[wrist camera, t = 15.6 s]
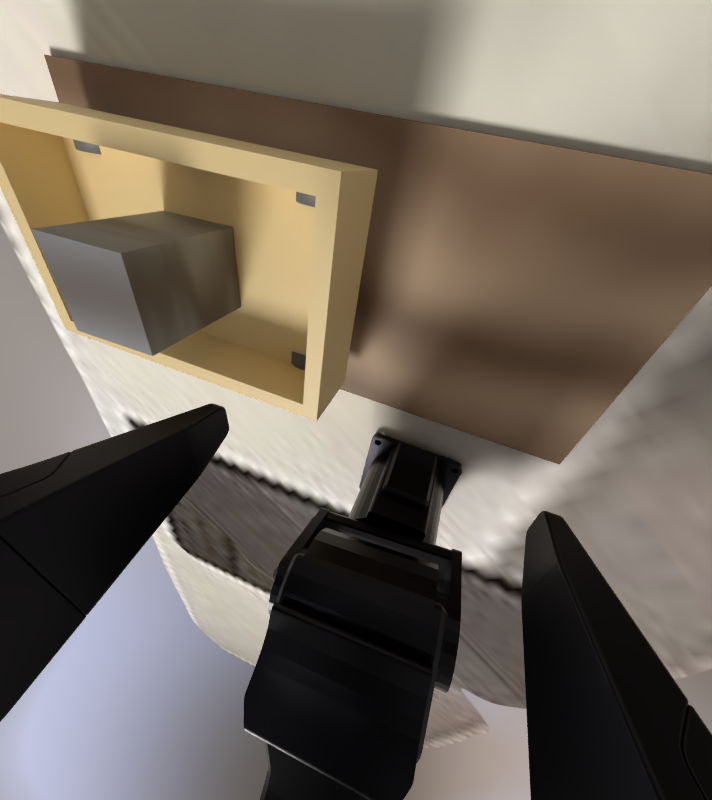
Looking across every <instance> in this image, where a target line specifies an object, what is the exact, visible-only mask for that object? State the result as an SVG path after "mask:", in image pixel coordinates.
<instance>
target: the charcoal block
mask: <svg viewBox="0 0 712 800" xmlns="http://www.w3.org/2000/svg"><path fill="white" fill-rule="evenodd" d="M32 231H33V233H34V235H35V238H36V240H37V242H38V244H39V247H40V249H41V251H42V253H43V255H44V258H45V260H46V262H47V264H48V266H49V269H50V271H51V273H52V275H53V277H54V280H55V282H56V284H57V286H58V288H59V291H60V293H61V295H62V297H63V299H64V302H65V304H66V306H67V308H68V310H69V313H70V315H71V317H72V319H73V322H74V324H75V326H76V328H77V330H78V331H80V332H83V333H86V334H89V335H92V336H95V337H98V338H101V339H104V340H107V341H110V342H113V343H115V344H118V345H121V346H124V347H127V348H130V349H133V350H136V351H139V352H142V353H145V354H148V355H151V356H154V355H156V354H158V353H159V352H161V351H163V350H165V349H167V348H168V347H170V346H172V345H174V344H176V343H177V342H179V341H181V340H183V339H184V338H186V337H188V336H190V335H192V334H193V333H195V332H197V331H199V330H201V329H202V328H204V327H206V326H208V325H210V324H211V323H213V322H215V321H217V320H219V319H220V318H222V317H224V316H226V315H228V314H229V313H231V312H233V311H235V310H237V309H238V308H240V307H241V301H240V291H239V281H238V271H237V261H236V251H235V241H234V231H233V227H232V226H227V225H223V224H219V223H215V222H210V221H206V220H202V219H198V218H193V217H189V216H185V215H181V214H176V213H172V212H168V211H157V212H150V213H143V214H136V215H128V216H121V217H114V218H107V219H100V220H92V221H85V222H78V223H71V224H64V225H56V226H49V227H42V228H35V229H32Z"/></svg>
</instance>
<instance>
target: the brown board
mask: <svg viewBox="0 0 712 800" xmlns="http://www.w3.org/2000/svg"><path fill="white" fill-rule="evenodd" d="M44 56H45V59H46V62H47V65H48V68H49V72H50V75H51V78H52V81H53V84H54V87H55V90H56V94H57V97H58V100H59V103H64V104H69V105H73V106H78V107H83V108H88V109H92V110H97V111H102V112H107V113H111V114H116V115H121V116H125V117H130V118H135V119H140V120H144V121H149V122H154V123H159V124H163V125H168V126H173V127H178V128H182V129H187V130H192V131H197V132H201V133H206V134H211V135H216V136H220V137H225V138H230V139H234V140H239V141H244V142H249V143H253V144H258V145H263V146H268V147H272V148H277V149H282V150H287V151H291V152H296V153H301V154H306V155H310V156H315V157H320V158H324V159H329V160H334V161H339V162H343V163H348V164H353V165H358V166H362V167H367V168H372V169H377V170H378V174H377V180H376V186H375V193H374V199H373V205H372V212H371V218H370V224H369V231H368V237H367V243H366V250H365V256H364V262H363V268H362V275H361V281H360V287H359V294H358V300H357V306H356V313H355V319H354V325H353V332H352V338H351V344H350V351H349V357H348V363H347V370H346V376H345V382H344V383H343V385H342V386H341V387H340V389H342V390H344V391H347V392H350V393H353V394H356V395H359V396H362V397H365V398H368V399H371V400H374V401H376V402H379V403H382V404H385V405H388V406H391V407H394V408H397V409H400V410H403V411H406V412H408V413H411V414H414V415H417V416H420V417H423V418H426V419H429V420H432V421H435V422H438V423H440V424H443V425H446V426H449V427H452V428H455V429H458V430H461V431H464V432H467V433H470V434H472V435H475V436H478V437H481V438H484V439H487V440H490V441H493V442H496V443H499V444H502V445H504V446H507V447H510V448H513V449H516V450H519V451H522V452H525V453H528V454H531V455H534V456H536V457H539V458H542V459H545V460H548V461H551V462H554V463H557V464H560V463H561V462H562V461H563V460H564V458H565V457H566V456H567V455H568V454H569V453H570V451H571V450H572V449H573V448H574V447H575V445H576V444H577V443H578V442H579V441H580V440H581V438H582V437H583V436H584V435H585V434H586V433H587V431H588V430H589V429H590V428H591V427H592V425H593V424H594V423H595V422H596V421H597V420H598V418H599V417H600V416H601V415H602V414H603V413H604V411H605V410H606V409H607V408H608V407H609V405H610V404H611V403H612V402H613V401H614V400H615V398H616V397H617V396H618V395H619V394H620V393H621V391H622V390H623V389H624V388H625V387H626V386H627V384H628V383H629V382H630V381H631V380H632V378H633V377H634V376H635V375H636V374H637V373H638V371H639V370H640V369H641V368H642V367H643V366H644V364H645V363H646V362H647V361H648V360H649V358H650V357H651V356H652V355H653V354H654V353H655V351H656V350H657V349H658V348H659V347H660V346H661V344H662V343H663V342H664V341H665V340H666V338H667V337H668V336H669V335H670V334H671V333H672V331H673V330H674V329H675V328H676V327H677V326H678V324H679V323H680V322H681V321H682V320H683V318H684V317H685V316H686V315H687V314H688V313H689V311H690V310H691V309H692V308H693V307H694V306H695V304H696V303H697V302H698V301H699V300H700V299H701V297H702V296H703V295H704V294H705V293H706V291H707V290H708V289H709V288H710V287H711V286H712V174H706V173H701V172H695V171H690V170H684V169H678V168H673V167H667V166H662V165H656V164H651V163H645V162H639V161H634V160H628V159H623V158H617V157H612V156H606V155H600V154H595V153H589V152H584V151H578V150H573V149H567V148H561V147H556V146H550V145H545V144H539V143H534V142H528V141H523V140H517V139H511V138H506V137H500V136H495V135H489V134H484V133H478V132H472V131H467V130H461V129H456V128H450V127H445V126H439V125H433V124H428V123H422V122H417V121H411V120H406V119H400V118H394V117H389V116H383V115H378V114H372V113H367V112H361V111H355V110H350V109H344V108H339V107H333V106H328V105H322V104H316V103H311V102H305V101H300V100H294V99H289V98H283V97H277V96H272V95H266V94H261V93H255V92H250V91H244V90H238V89H233V88H227V87H222V86H216V85H211V84H205V83H199V82H194V81H188V80H183V79H177V78H172V77H166V76H160V75H155V74H149V73H144V72H138V71H133V70H127V69H121V68H116V67H110V66H105V65H99V64H94V63H88V62H82V61H77V60H71V59H66V58H60V57H55V56H49V55H44Z"/></svg>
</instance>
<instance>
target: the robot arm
mask: <svg viewBox="0 0 712 800" xmlns="http://www.w3.org/2000/svg"><path fill="white" fill-rule="evenodd" d="M228 431H229V424H228V419H227V414H226V410H225V408H224V407H222V406H219V405H216V404H208V405H205V406H202V407H199V408H196V409H193V410H190V411H188V412H185V413H182V414H179V415H176V416H173V417H170V418H167V419H164V420H161V421H158V422H155V423H152V424H150V425H147V426H144V427H141V428H138V429H135V430H132V431H129V432H126V433H123V434H120V435H117V436H114V437H111V438H109V439H106V440H103V441H100V442H97V443H94V444H91V445H88V446H85V447H82V448H79V449H76V450H74V451H72V452H67V453H65V454H62V455H59V456H56V457H53V458H50V459H47V460H44V461H41V462H38V463H35V464H32V465H29V466H25V467H22V468H19V469H15V470H12V471H9V472H5V473H2V474H0V721H1V720H2V719H3V718H4V717H5V716H6V715H7V713H8V712H9V711H10V710H11V709H12V708H13V706H14V705H15V704H16V703H17V701H18V700H19V699H20V698H21V696H22V695H23V694H24V693H25V692H26V690H27V689H28V688H29V686H30V685H31V684H32V683H33V682H34V680H35V679H36V678H37V676H38V675H39V674H40V673H41V672H42V670H43V669H44V668H45V667H46V665H47V664H48V663H49V662H50V661H51V659H52V658H53V657H54V656H55V654H56V653H57V652H58V651H59V650H60V648H61V647H62V646H63V645H64V643H65V642H66V641H67V640H68V638H69V637H70V636H71V635H72V634H73V632H74V631H75V630H76V628H77V627H78V626H79V625H80V624H81V622H82V621H83V620H84V619H85V617H86V615H87V614H88V613H89V612H90V611H91V610H92V608H93V607H94V606H95V605H96V603H97V602H98V601H99V600H100V599H101V597H102V596H103V595H104V594H105V593H106V591H107V590H108V589H109V588H110V586H111V585H112V584H113V583H114V581H115V580H116V579H117V578H118V576H119V575H120V574H121V573H122V571H123V570H124V569H125V568H126V567H127V565H128V564H129V563H130V561H131V560H132V559H133V558H134V557H135V555H136V554H137V553H138V552H139V550H140V549H141V548H142V547H143V545H144V544H145V543H146V542H147V541H148V539H149V538H150V537H151V536H152V535H153V533H154V532H155V531H156V530H157V528H158V527H159V526H160V525H161V523H162V522H163V521H164V520H165V518H166V517H167V516H168V515H169V514H170V512H171V511H172V510H173V509H174V507H175V506H176V505H177V504H178V502H179V501H180V500H181V499H182V497H183V496H184V495H185V494H186V493H187V491H188V490H189V489H190V488H191V486H192V485H193V484H194V483H195V481H196V480H197V479H198V478H199V476H200V475H201V473H202V472H203V471H204V469H205V468H206V466H207V465H208V463H209V462H210V460H211V459H212V457H213V456H214V454H215V452H216V451H217V449H218V448H219V446H220V445H221V443H222V442H223V440H224V439H225V437H226V436H227V434H228ZM377 440H379V441H381V442H379V441H377ZM453 468H456V469H453ZM461 472H462V465H461V464H460V463H459V462H457V461H454V460H451V459H448V458H446V457H443V456H440V455H437V454H435V453H432V452H429V451H426V450H424V449H421V448H418V447H415V446H413V445H410V444H407V443H404V442H401V441H399V440H396V439H393V438H390V437H388V436H385V435H382V434H375V435H374V436H373V438H372V440H371V444H370V448H369V452H368V456H367V459H366V463H365V467H364V471H363V475H362V479H361V482H360V491H359V494H358V496H357V499H356V501H355V503H354V506H353V508H352V510H351V513H350V515H349V517H345V516H342V515H339V514H336V513H333V512H330V510H328V509H325V508H321V509H320V510H319V512H318V513H317V514H316V516H315V517H313V518H312V520H311V521H310V522H309V524H308V525H307V526H306V528H305V529H304V530H303V532H302V533H301V534H300V536H299V537H298V538H297V540H296V541H295V542H294V544H293V545H292V546H291V548H290V549H289V550H288V552H287V553H286V554H285V556H284V557H283V559H282V560H281V561H280V563H279V566H278V567H277V568H276V570H275V571H274V574H273V581H274V583H273V587H272V590H271V594H270V599H269V614H270V620H269V625H268V629H267V633H266V636H265V640H264V643H263V647H262V650H261V653H260V655H259V658H258V661H257V664H256V667H255V669H254V672H253V675H252V677H251V680H250V682H249V685H248V688H247V690H246V693H245V697H244V729H245V731H247V732H249V733H250V734H252V735H254V736H256V737H257V738H259V739H261V740H263V741H265V745H266V752H267V759H268V772H267V776H266V780H265V784H264V787H263V791H262V794H261V798H260V800H403V799H404V797H405V796H406V794H407V793H408V791H409V790H410V788H411V786H412V784H413V780H414V773H415V768H416V763H417V762H418V760H419V759H420V756H421V753H422V749H423V744H424V738H425V733H426V728H427V723H428V717H429V712H430V707H431V701H432V696H433V691H434V688H436V689H439V690H441V691H443V692H448V690H449V688H450V684H451V681H452V677H453V672H454V668H455V662H456V656H457V649H458V642H459V633H460V619H461V573H462V552H461V551H458V550H455V549H452V550H449V549H446V548H443V547H440V546H437V545H435V544H436V538H437V532H438V526H439V519H440V513H441V508H442V506H443V505H444V503H445V501H446V499H447V497H448V496H449V494H450V492H451V490H452V489H453V487H454V485H455V483H456V482H457V480H458V478H459V476H460V475H461ZM522 623H523V644H524V665H525V686H526V707H527V727H528V746H529V747H528V748H529V769H530V789H531V800H712V734H711V733H710V731H709V730H708V728H707V727H706V725H705V724H704V723H703V721H702V720H701V718H700V717H699V715H698V714H697V712H696V711H695V709H694V708H693V707H692V706H691V705H688V700H687V698H686V696H685V695H684V694H683V692H682V691H681V689H680V688H679V687H678V685H677V683H676V682H675V680H674V679H673V678H672V676H671V675H670V673H669V672H668V670H667V669H666V667H665V666H664V664H663V663H662V661H661V660H660V659H659V657H658V656H657V654H656V653H655V651H654V650H653V648H652V647H651V645H650V644H649V642H648V641H647V640H646V638H645V637H644V635H643V634H642V632H641V631H640V629H639V628H638V626H637V625H636V624H635V622H634V621H633V619H632V618H631V616H630V615H629V613H628V612H627V610H626V609H625V607H624V606H623V605H622V603H621V602H620V600H619V599H618V597H617V596H616V594H615V593H614V591H613V590H612V589H611V587H610V586H609V584H608V583H607V581H606V580H605V578H604V577H603V575H602V574H601V572H600V571H599V570H598V568H597V567H596V565H595V564H594V562H593V561H592V559H591V558H590V556H589V555H588V554H587V552H586V551H585V549H584V548H583V546H582V545H581V543H580V542H579V540H578V539H577V537H576V536H575V535H574V533H573V532H572V530H571V529H570V527H569V526H568V524H567V523H566V521H565V520H564V519H563V518H562V517H561V516H559V515H556V514H553V513H550V512H547V511H542V512H541V513H540V514H539V515H538V516H537V518H536V519H535V520H534V522H533V523H532V524H531V526H530V527H529V529H528V531H527V534H526V541H525V555H524V569H523V583H522Z"/></svg>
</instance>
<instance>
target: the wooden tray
mask: <svg viewBox="0 0 712 800" xmlns="http://www.w3.org/2000/svg"><path fill="white" fill-rule="evenodd" d="M377 174H378V170H377V169H372V168H367V167H362V166H358V165H353V164H348V163H343V162H339V161H334V160H329V159H324V158H320V157H315V156H310V155H306V154H301V153H296V152H291V151H287V150H282V149H277V148H272V147H268V146H263V145H258V144H253V143H249V142H244V141H239V140H234V139H230V138H225V137H220V136H216V135H211V134H206V133H201V132H197V131H192V130H187V129H182V128H178V127H173V126H168V125H163V124H159V123H154V122H149V121H144V120H140V119H135V118H130V117H125V116H121V115H116V114H111V113H107V112H102V111H97V110H92V109H88V108H83V107H78V106H73V105H69V104H64V103H59V102H52V101H45V100H38V99H31V98H24V97H16V96H9V95H2V94H0V187H1V189H2V192H3V194H4V196H5V198H6V200H7V202H8V205H9V207H10V209H11V211H12V213H13V215H14V218H15V220H16V222H17V224H18V226H19V229H20V231H21V233H22V235H23V237H24V239H25V242H26V244H27V246H28V248H29V250H30V252H31V255H32V257H33V259H34V261H35V263H36V265H37V268H38V270H39V272H40V274H41V276H42V279H43V281H44V283H45V285H46V287H47V289H48V292H49V294H50V296H51V298H52V300H53V302H54V305H55V307H56V309H57V311H58V313H59V315H60V318H61V320H62V322H63V324H64V326H65V329H66V330H69V331H72V332H74V333H77V334H80V335H83V336H85V337H88V338H91V339H93V340H96V341H99V342H102V343H104V344H107V345H110V346H113V347H115V348H118V349H121V350H123V351H126V352H129V353H132V354H134V355H137V356H140V357H142V358H145V359H148V360H151V361H153V362H156V363H159V364H161V365H164V366H167V367H170V368H172V369H175V370H178V371H180V372H183V373H186V374H189V375H191V376H194V377H197V378H199V379H202V380H205V381H208V382H210V383H213V384H216V385H219V386H221V387H224V388H227V389H229V390H232V391H235V392H238V393H240V394H243V395H246V396H248V397H251V398H254V399H257V400H259V401H262V402H265V403H267V404H270V405H273V406H276V407H278V408H281V409H284V410H286V411H289V412H292V413H295V414H297V415H300V416H303V417H306V418H308V419H311V420H314V421H317V420H318V419H319V417H320V416H321V414H322V413H323V411H324V410H325V409H326V407H327V406H328V404H329V403H330V402H331V400H332V399H333V397H334V396H335V394H336V393H337V392H338V390H339V389H340V387H341V386H342V385H343V383H344V382H345V376H346V370H347V363H348V357H349V351H350V344H351V338H352V332H353V325H354V319H355V313H356V306H357V300H358V294H359V287H360V281H361V275H362V268H363V262H364V256H365V250H366V243H367V237H368V231H369V224H370V218H371V212H372V205H373V199H374V193H375V186H376V180H377ZM157 211H168V212H172V213H176V214H181V215H185V216H189V217H193V218H198V219H202V220H206V221H210V222H215V223H219V224H223V225H227V226H232V227H233V231H234V241H235V251H236V261H237V271H238V281H239V291H240V301H241V307H240V308H238V309H237V310H235V311H233V312H231V313H229V314H228V315H226V316H224V317H222V318H220V319H219V320H217V321H215V322H213V323H211V324H210V325H208V326H206V327H204V328H202V329H201V330H199V331H197V332H195V333H193V334H192V335H190V336H188V337H186V338H184V339H183V340H181V341H179V342H177V343H176V344H174V345H172V346H170V347H168V348H167V349H165V350H163V351H161V352H159V353H158V354H156V355H154V356H151V355H148V354H145V353H142V352H139V351H136V350H133V349H130V348H127V347H124V346H121V345H118V344H115V343H113V342H110V341H107V340H104V339H101V338H98V337H95V336H92V335H89V334H86V333H83V332H80V331H78V330H77V328H76V326H75V324H74V322H73V319H72V317H71V315H70V313H69V310H68V308H67V306H66V304H65V302H64V299H63V297H62V295H61V293H60V291H59V288H58V286H57V284H56V282H55V280H54V277H53V275H52V273H51V271H50V269H49V266H48V264H47V262H46V260H45V258H44V255H43V253H42V251H41V249H40V247H39V244H38V242H37V240H36V238H35V235H34V233H33V231H32V229H35V228H42V227H49V226H56V225H64V224H71V223H78V222H85V221H92V220H100V219H107V218H114V217H121V216H128V215H136V214H143V213H150V212H157Z"/></svg>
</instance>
